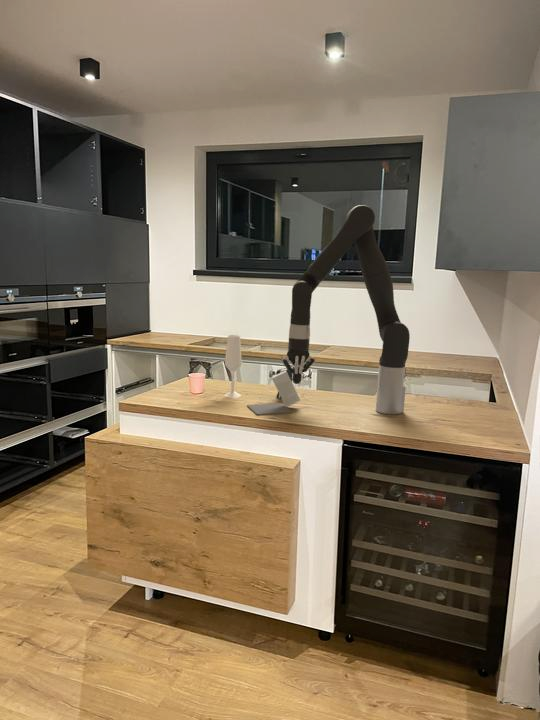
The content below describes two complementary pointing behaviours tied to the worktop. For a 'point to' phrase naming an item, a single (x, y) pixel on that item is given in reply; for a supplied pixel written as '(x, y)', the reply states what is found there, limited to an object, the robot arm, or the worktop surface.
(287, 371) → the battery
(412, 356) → the worktop surface
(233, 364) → the champagne flute
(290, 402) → the skincare box
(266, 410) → the mat
